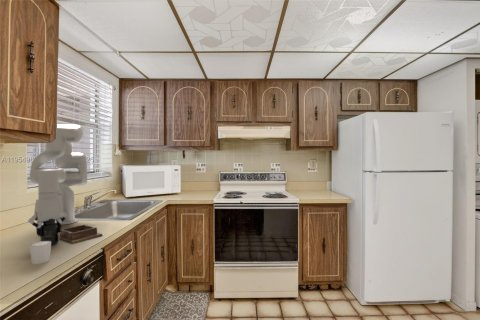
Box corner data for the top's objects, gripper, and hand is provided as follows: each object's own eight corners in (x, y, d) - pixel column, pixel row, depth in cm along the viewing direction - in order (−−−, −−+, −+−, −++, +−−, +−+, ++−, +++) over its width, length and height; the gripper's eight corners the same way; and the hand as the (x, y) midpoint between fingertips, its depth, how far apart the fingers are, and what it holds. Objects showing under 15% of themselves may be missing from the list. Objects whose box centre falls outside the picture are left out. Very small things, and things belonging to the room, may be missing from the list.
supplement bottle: (61, 241, 128) (61, 216, 127) (51, 246, 121) (51, 220, 121) (47, 241, 128) (46, 216, 127) (36, 246, 121) (36, 220, 121)
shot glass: (55, 257, 108) (54, 240, 108) (45, 264, 101) (45, 245, 101) (36, 258, 107) (36, 241, 107) (25, 265, 100) (25, 246, 100)
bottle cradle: (54, 237, 134) (54, 229, 134) (83, 230, 146) (83, 223, 146) (73, 243, 125) (72, 235, 124) (102, 235, 136) (102, 228, 136)
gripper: (65, 192, 133) (65, 228, 134) (22, 197, 119) (23, 237, 119) (72, 194, 129) (73, 230, 130) (29, 199, 114) (30, 240, 115)
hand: (49, 233), depth 124 cm, fingers closed on supplement bottle, 6 cm apart
